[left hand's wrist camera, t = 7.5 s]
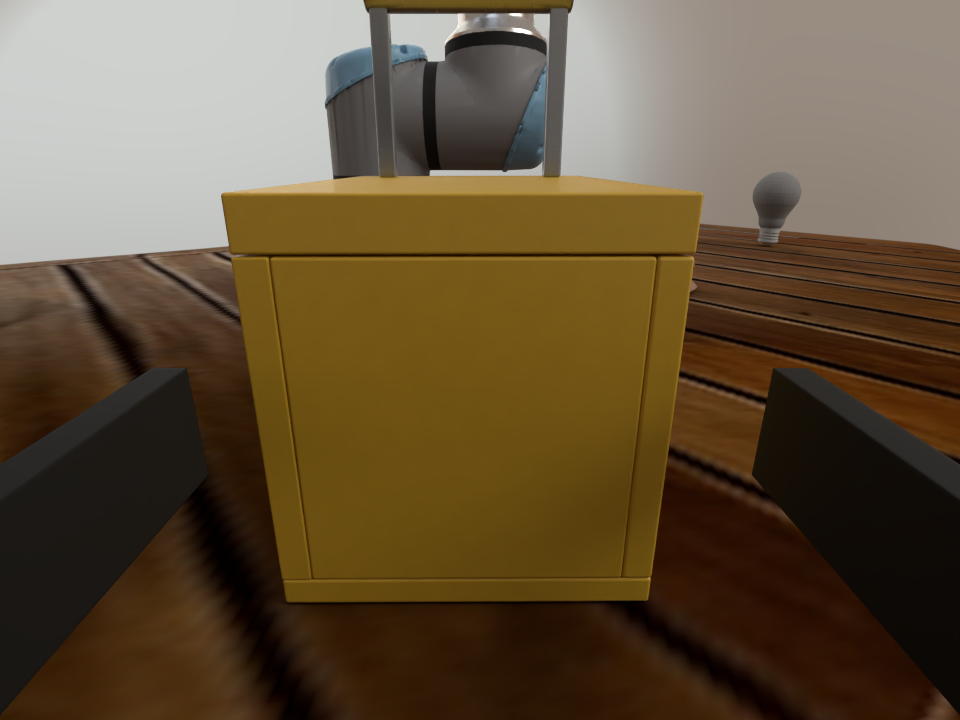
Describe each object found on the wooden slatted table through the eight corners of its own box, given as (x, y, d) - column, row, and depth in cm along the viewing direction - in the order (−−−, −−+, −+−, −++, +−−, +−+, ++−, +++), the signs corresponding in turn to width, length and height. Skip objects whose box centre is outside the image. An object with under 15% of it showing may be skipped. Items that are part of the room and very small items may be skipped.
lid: (363, 204, 25) (347, -20, 22) (578, 204, 26) (591, -19, 22) (229, 254, 12) (138, -311, 9) (696, 254, 12) (774, -309, 9)
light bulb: (753, 247, 76) (766, 172, 73) (738, 241, 82) (750, 171, 78) (798, 247, 76) (813, 172, 72) (780, 241, 81) (793, 171, 78)
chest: (375, 396, 28) (361, 206, 25) (568, 396, 28) (579, 206, 25) (284, 604, 15) (229, 257, 12) (649, 602, 15) (696, 256, 12)
